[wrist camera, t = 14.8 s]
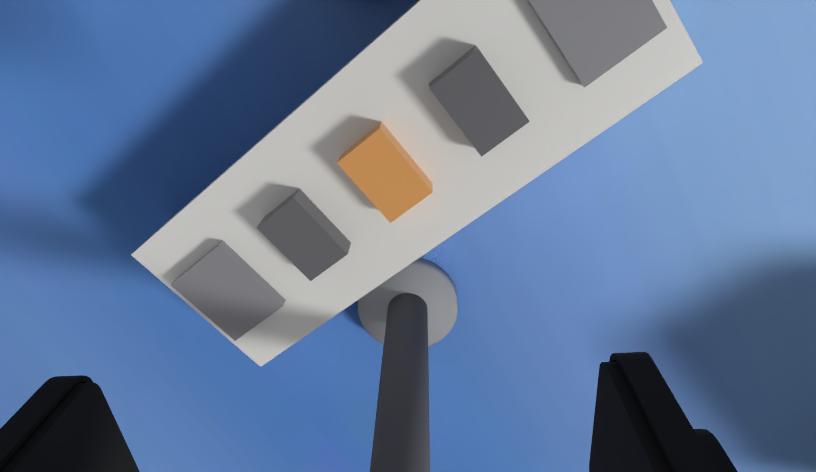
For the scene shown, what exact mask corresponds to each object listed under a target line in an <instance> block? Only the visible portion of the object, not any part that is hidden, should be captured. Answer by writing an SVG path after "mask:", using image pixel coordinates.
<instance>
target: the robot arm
mask: <svg viewBox="0 0 816 472" xmlns="http://www.w3.org/2000/svg"><path fill="white" fill-rule="evenodd" d="M0 472H139V469H138V467H137V465H136V463H135V461H134V459H133V457H132V455H131V452H130V450H129V448H128V446H127V444H126V442H125V440H124V437H123V435H122V433H121V431H120V429H119V427H118V425H117V422H116V420H115V418H114V416H113V414H112V412H111V410H110V407H109V405H108V403H107V401H106V399H105V397H104V395H103V393H102V390H101V388H100V387H99V385H97V384H96V383H93V381H92V380H91V378H89V377H87V376H59V377H53V378H50V379H49V380H47V381H46V382H45V383H44V384H43V385H42V386H41V387H40V388H39V389H38V390H37V391H36V392H35V393H34V394H33V395H32V396H31V398H30V399H29V400H28V401H27V402H26V403H25V404H24V405H23V406H22V407H21V408H20V409H19V410H18V411H17V412H16V413H15V414H14V415H13V416H12V417H11V418H10V419H9V420H8V422H7V423H6V424H5V425H4V426H3V427H2V428H1V429H0ZM589 472H737V470H736V468H735V467H734V465H733V464H732V462H731V461H730V459H729V457H728V456H727V454H726V453H725V451H724V449H723V448H722V446H721V445H720V443H719V442H718V440H717V439H716V438H715V436H714V435H713V434H712V433H710V432H709V431H708V430H706V429H693V428H692V426H691V424H690V423H689V421H688V419H687V418H686V416H685V414H684V412H683V411H682V409H681V407H680V406H679V404H678V402H677V401H676V399H675V397H674V395H673V394H672V392H671V390H670V389H669V387H668V385H667V383H666V382H665V380H664V378H663V377H662V375H661V373H660V372H659V370H658V368H657V366H656V365H655V363H654V361H653V360H652V358H651V357H650V355H649V354H648V353H646V352H633V353H613V354H612V355H611V357H610V361H609V362H602V363H601V364H600V368H599V377H598V387H597V396H596V406H595V415H594V425H593V435H592V444H591V454H590V463H589Z"/></svg>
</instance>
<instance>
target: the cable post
mask: <svg viewBox="0 0 816 472" xmlns="http://www.w3.org/2000/svg"><path fill="white" fill-rule="evenodd" d="M457 313H458V305H457V296H456V290H455V286H454V284H453V282H452V280H451V278H450V277H449V275H448V274H447V273H446V272H445V271H444V270H443V269H442V268H441V267H439V266H438V265H436V264H435V263H433V262H431V261H428V260H426V259H422V258H418V259H417V260H415V261H414V262H412V263H411V264H409V265H408V266H407V267H405V268H404V269H402V270H401V271H399V272H398V273H396V274H395V275H393V276H392V277H391V278H389V279H388V280H386V281H385V282H383V283H382V284H380V285H379V286H377V287H376V288H375V289H373V290H372V291H370V292H369V293H367V294H366V295H364V296H363V297H361V298H360V299H359V300H358V314H359V318H360V321H361V323H362V325H363V327H364V328H365V330H366V331H367V332H368V333H369V334H370V335H371V336H372V337H373V338H374V339H376V340H377V341H379V342H380V343H382V344H384V347H383V356H382V366H381V375H380V384H379V393H378V402H377V412H376V421H375V430H374V439H373V449H372V458H371V467H370V472H430V441H429V373H428V346H431V345H433V344H435V343H437V342H438V341H440V340H441V339H442V338H444V337H445V336H446V335H447V334H448V333H449V332H450V330H451V329H452V327H453V325H454V324H455V321H456V318H457Z"/></svg>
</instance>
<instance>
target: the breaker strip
mask: <svg viewBox="0 0 816 472" xmlns="http://www.w3.org/2000/svg"><path fill="white" fill-rule="evenodd" d="M702 63H703V61H702V59H701V58H700V56H699V54H698V52H697V50H696V48H695V46H694V44H693V43H692V41H691V39H690V37H689V35H688V33H687V31H686V30H685V28H684V26H683V24H682V22H681V20H680V18H679V16H678V15H677V13H676V11H675V9H674V7H673V5H672V3H671V1H670V0H418V1H417V2H416V3H415V4H414V5H413V6H412V7H410V8H409V9H408V10H407V11H406V12H405V13H404V14H402V15H401V16H400V17H399V18H398V19H397V20H396V21H394V22H393V23H392V24H391V25H390V26H389V27H388V28H387V29H385V30H384V31H383V32H382V33H381V34H380V35H379V36H377V37H376V38H375V39H374V40H373V41H372V42H371V43H370V44H368V45H367V46H366V47H365V48H364V49H363V50H362V51H360V52H359V53H358V54H357V55H356V56H355V57H354V58H352V59H351V60H350V61H349V62H348V63H347V64H346V65H345V66H343V67H342V68H341V69H340V70H339V71H338V72H337V73H335V74H334V75H333V76H332V77H331V78H330V79H329V80H327V81H326V82H325V83H324V84H323V85H322V86H321V87H320V88H318V89H317V90H316V91H315V92H314V93H313V94H312V95H310V96H309V97H308V98H307V99H306V100H305V101H304V102H303V103H301V104H300V105H299V106H298V107H297V108H296V109H295V110H293V111H292V112H291V113H290V114H289V115H288V116H287V117H285V118H284V119H283V120H282V121H281V122H280V123H279V124H278V125H276V126H275V127H274V128H273V129H272V130H271V131H270V132H268V133H267V134H266V135H265V136H264V137H263V138H262V139H261V140H259V141H258V142H257V143H256V144H255V145H254V146H253V147H251V148H250V149H249V150H248V151H247V152H246V153H245V154H243V155H242V156H241V157H240V158H239V159H238V160H237V161H236V162H234V163H233V164H232V165H231V166H230V167H229V168H228V169H226V170H225V171H224V172H223V173H222V174H221V175H220V176H219V177H217V178H216V179H215V180H214V181H213V182H212V183H211V184H209V185H208V186H207V187H206V188H205V189H204V190H203V191H201V192H200V193H199V194H198V195H197V196H196V197H195V198H194V199H192V200H191V201H190V202H189V203H188V204H187V205H186V206H184V207H183V208H182V209H181V210H180V211H179V212H178V213H176V214H175V215H174V216H173V217H172V218H171V219H170V220H169V221H168V222H166V223H165V224H164V225H163V226H162V227H161V228H160V229H159V230H158V231H157V232H156V233H154V234H153V235H152V236H151V237H150V238H149V239H148V240H147V241H146V242H145V243H144V244H142V245H141V246H140V247H139V248H138V249H137V250H136V251H135V252H134V253H133V254H131V255H132V256H133V257H134V258H135V259H136V260H137V261H139V262H140V263H141V264H142V265H143V266H144V267H146V268H147V269H148V270H149V271H150V272H151V273H152V274H154V275H155V276H156V277H157V278H158V279H159V280H161V281H162V282H163V283H164V284H165V285H166V286H168V287H169V288H170V289H171V290H172V291H173V292H175V293H176V294H177V295H178V296H179V297H180V298H181V299H183V300H184V301H185V302H186V303H187V304H188V305H190V306H191V307H192V308H193V309H194V310H195V311H197V312H198V313H199V314H200V315H201V316H202V317H203V318H205V319H206V320H207V321H208V322H209V323H210V324H212V325H213V326H214V327H215V328H216V329H217V330H219V331H220V332H221V333H222V334H223V335H224V336H225V337H227V338H228V339H229V340H230V341H231V342H232V343H234V344H235V345H236V346H237V347H238V348H239V349H241V350H242V351H243V352H244V353H245V354H246V355H248V356H249V357H250V358H251V359H252V360H253V361H254V362H256V363H257V364H258V365H259V366H260V367H261V366H262V365H264V364H265V363H267V362H268V361H270V360H271V359H273V358H274V357H276V356H277V355H278V354H280V353H281V352H283V351H284V350H286V349H287V348H289V347H290V346H292V345H293V344H294V343H296V342H297V341H299V340H300V339H302V338H303V337H305V336H306V335H308V334H309V333H310V332H312V331H313V330H315V329H316V328H318V327H319V326H321V325H322V324H324V323H325V322H326V321H328V320H329V319H331V318H332V317H334V316H335V315H337V314H338V313H340V312H341V311H343V310H344V309H345V308H347V307H348V306H350V305H351V304H353V303H354V302H356V301H357V300H359V299H360V298H361V297H363V296H364V295H366V294H367V293H369V292H370V291H372V290H373V289H375V288H376V287H377V286H379V285H380V284H382V283H383V282H385V281H386V280H388V279H389V278H391V277H392V276H393V275H395V274H396V273H398V272H399V271H401V270H402V269H404V268H405V267H407V266H408V265H409V264H411V263H412V262H414V261H415V260H417V259H418V258H420V257H421V256H423V255H424V254H425V253H427V252H428V251H430V250H431V249H433V248H434V247H436V246H437V245H439V244H440V243H441V242H443V241H444V240H446V239H447V238H449V237H450V236H452V235H453V234H455V233H456V232H457V231H459V230H460V229H462V228H463V227H465V226H466V225H468V224H469V223H471V222H472V221H473V220H475V219H476V218H478V217H479V216H481V215H482V214H484V213H485V212H487V211H488V210H489V209H491V208H492V207H494V206H495V205H497V204H498V203H500V202H501V201H503V200H504V199H505V198H507V197H508V196H510V195H511V194H513V193H514V192H516V191H517V190H519V189H520V188H521V187H523V186H524V185H526V184H527V183H529V182H530V181H532V180H533V179H535V178H536V177H537V176H539V175H540V174H542V173H543V172H545V171H546V170H548V169H549V168H551V167H552V166H553V165H555V164H556V163H558V162H559V161H561V160H562V159H564V158H565V157H567V156H568V155H569V154H571V153H572V152H574V151H575V150H577V149H578V148H580V147H581V146H583V145H584V144H585V143H587V142H588V141H590V140H591V139H593V138H594V137H596V136H597V135H599V134H600V133H601V132H603V131H604V130H606V129H607V128H609V127H610V126H612V125H613V124H615V123H616V122H617V121H619V120H620V119H622V118H623V117H625V116H626V115H628V114H629V113H631V112H632V111H633V110H635V109H636V108H638V107H639V106H641V105H642V104H644V103H645V102H647V101H648V100H649V99H651V98H652V97H654V96H655V95H657V94H658V93H660V92H661V91H663V90H664V89H666V88H667V87H668V86H670V85H671V84H673V83H674V82H676V81H677V80H679V79H680V78H682V77H683V76H684V75H686V74H687V73H689V72H690V71H692V70H693V69H695V68H696V67H698V66H699V65H700V64H702Z"/></svg>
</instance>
